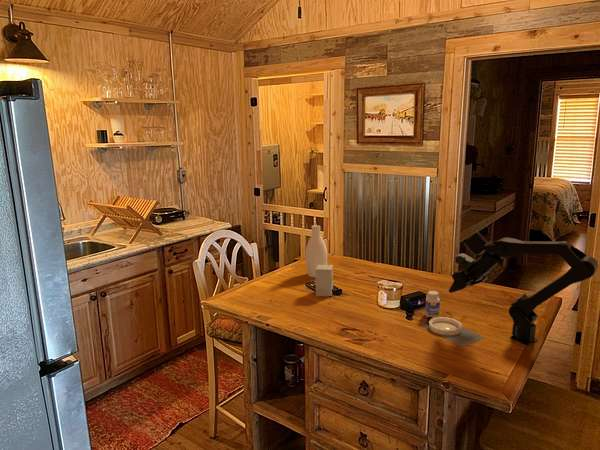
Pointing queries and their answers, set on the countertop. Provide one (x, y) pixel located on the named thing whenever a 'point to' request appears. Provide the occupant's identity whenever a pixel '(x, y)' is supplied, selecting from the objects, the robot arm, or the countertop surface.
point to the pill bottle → (432, 304)
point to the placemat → (460, 336)
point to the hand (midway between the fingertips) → (455, 289)
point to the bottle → (315, 251)
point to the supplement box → (324, 280)
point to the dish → (445, 326)
